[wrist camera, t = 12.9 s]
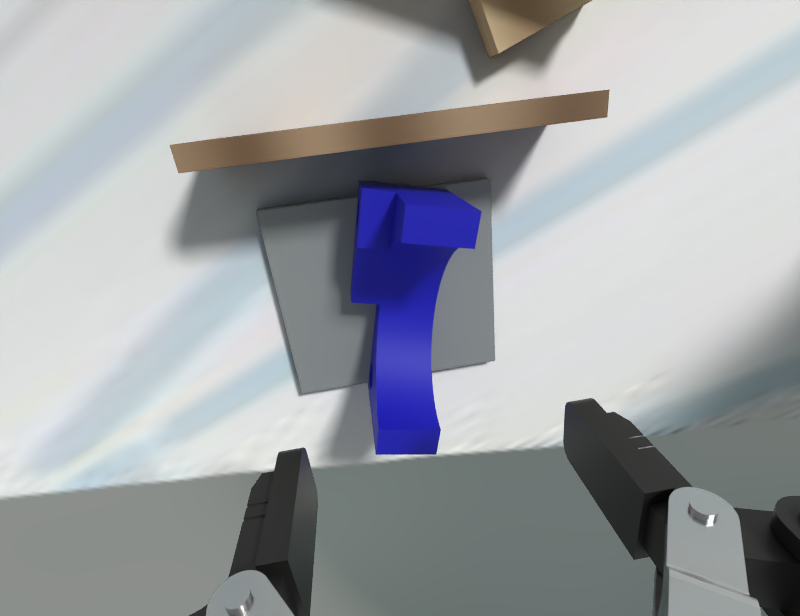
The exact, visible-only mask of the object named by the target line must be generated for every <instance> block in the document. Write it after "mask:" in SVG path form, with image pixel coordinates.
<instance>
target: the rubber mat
mask: <svg viewBox="0 0 800 616" xmlns="http://www.w3.org/2000/svg"><path fill="white" fill-rule="evenodd" d="M423 187H429V188H438V189H447V190H448V191H450V192H451V193H453V194H455V195H456V196H458V197H459V198H461V199H463V200H464V201H466V202H467V203H469V204H471V205H472V206H474V207H475V208H477V209H479V210H480V211H482V213H481V219H480V224H479V229H478V235H477V240H476V245H475V249H468V248H458V249H457V250H456V251H455V252H454V253H453V255H452V256H451V258H450V260H449V262H448V264H447V266H446V268H445V271H444V274H443V277H442V280H441V283H440V287H439V291H438V295H437V301H436V306H435V313H434V320H433V331H432V349H431V368H432V371H437V370H443V369H449V368H455V367H461V366H466V365H472V364H478V363H484V362H490V361H495V342H494V304H493V266H492V228H491V189H490V179H489V178H480V179H473V180H466V181H459V182H451V183H444V184H437V185H430V186H423ZM357 201H358V196H350V197H343V198H336V199H329V200H322V201H314V202H307V203H300V204H293V205H286V206H278V207H271V208H264V209H258V210H257V211H256V213H257V217H258V221H259V225H260V229H261V233H262V237H263V241H264V245H265V249H266V253H267V257H268V261H269V265H270V269H271V273H272V277H273V281H274V284H275V288H276V292H277V296H278V300H279V304H280V308H281V312H282V316H283V320H284V324H285V328H286V332H287V336H288V340H289V344H290V348H291V352H292V356H293V360H294V364H295V368H296V372H297V375H298V379H299V383H300V387H301V391H302V394H303V393H308V392H314V391H320V390H326V389H332V388H338V387H344V386H349V385H355V384H361V383H367V382H369V372H370V363H371V353H372V343H373V333H374V324H375V314H376V304H365V303H351V280H352V267H353V254H354V241H355V228H356V214H357Z"/></svg>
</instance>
